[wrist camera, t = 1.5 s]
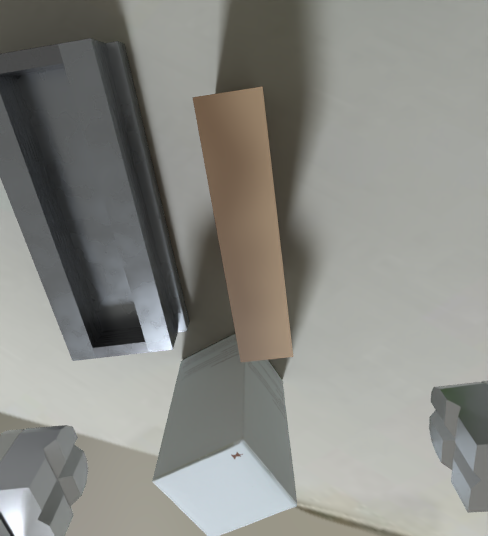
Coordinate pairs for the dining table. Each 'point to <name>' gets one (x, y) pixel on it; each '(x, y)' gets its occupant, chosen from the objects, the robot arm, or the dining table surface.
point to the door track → (89, 197)
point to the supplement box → (226, 441)
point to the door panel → (246, 219)
